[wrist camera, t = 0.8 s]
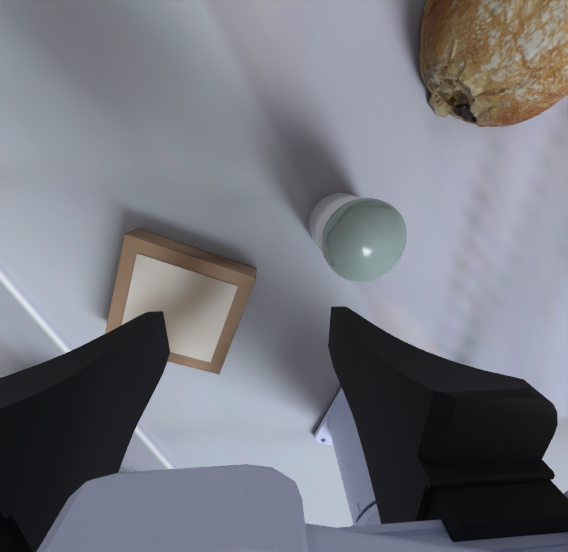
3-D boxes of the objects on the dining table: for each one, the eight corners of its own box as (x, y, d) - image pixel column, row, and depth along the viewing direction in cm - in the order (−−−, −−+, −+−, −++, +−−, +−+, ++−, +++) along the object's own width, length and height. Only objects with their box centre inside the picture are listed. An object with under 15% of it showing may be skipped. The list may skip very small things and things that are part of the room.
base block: (256, 268, 21) (255, 278, 19) (222, 358, 24) (218, 375, 22) (137, 228, 20) (124, 234, 18) (116, 330, 22) (102, 345, 20)
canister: (378, 205, 20) (422, 218, 15) (351, 260, 22) (381, 291, 16) (322, 181, 19) (346, 185, 14) (297, 240, 21) (310, 266, 15)
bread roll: (375, 78, 20) (399, 106, 15) (490, -162, 13) (619, -283, 8) (483, 127, 22) (540, 170, 17) (635, -62, 15) (826, -101, 9)
